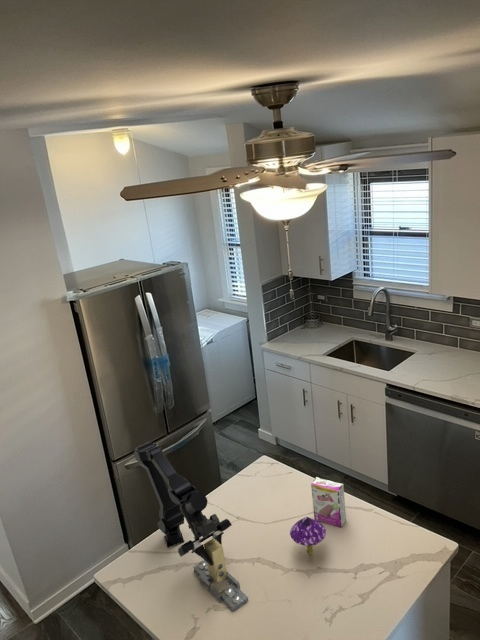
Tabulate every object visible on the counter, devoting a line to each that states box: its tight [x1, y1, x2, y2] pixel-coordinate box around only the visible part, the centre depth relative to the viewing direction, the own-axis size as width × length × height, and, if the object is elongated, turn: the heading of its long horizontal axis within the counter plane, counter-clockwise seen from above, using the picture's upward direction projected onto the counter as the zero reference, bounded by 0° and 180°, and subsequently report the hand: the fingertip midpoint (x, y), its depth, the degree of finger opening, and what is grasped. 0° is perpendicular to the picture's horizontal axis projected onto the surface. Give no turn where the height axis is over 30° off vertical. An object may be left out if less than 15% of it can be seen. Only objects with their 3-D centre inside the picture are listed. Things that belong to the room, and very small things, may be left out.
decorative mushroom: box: [289, 516, 327, 555], centre depth 179 cm, size 12×12×15 cm
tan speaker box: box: [203, 537, 228, 584], centre depth 170 cm, size 5×4×12 cm
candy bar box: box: [310, 476, 347, 528], centre depth 194 cm, size 11×5×16 cm, turn 58°
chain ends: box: [193, 560, 249, 612], centre depth 173 cm, size 23×8×2 cm, turn 37°
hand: (217, 561), depth 169 cm, fingers closed on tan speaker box, 4 cm apart
